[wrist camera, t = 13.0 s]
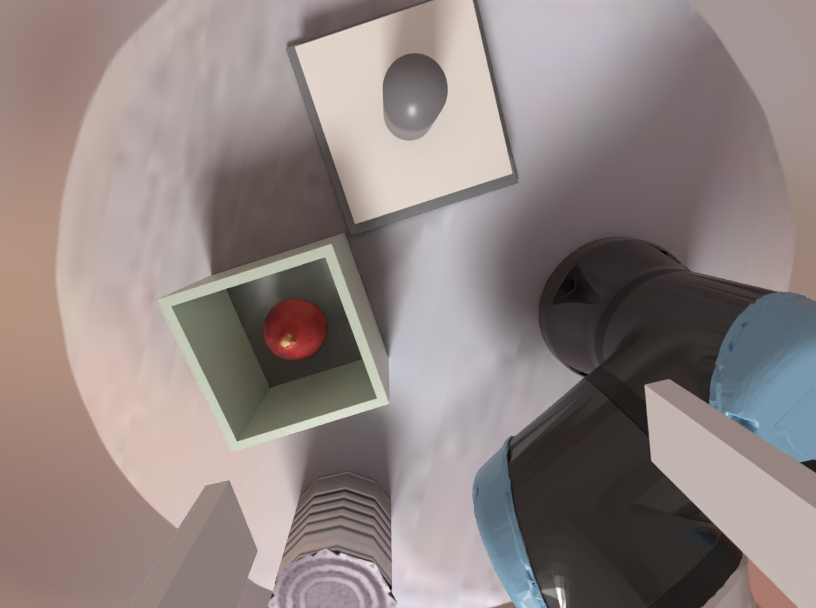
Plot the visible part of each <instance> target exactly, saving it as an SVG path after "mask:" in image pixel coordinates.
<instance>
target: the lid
mask: <svg viewBox="0 0 816 608" xmlns="http://www.w3.org/2000/svg"><path fill="white" fill-rule="evenodd" d="M295 49H296V52H297V55H298V58H299V61H300V64H301V67H302V70H303V73H304V76H305V79H306V82H307V85H308V87H309V90H310V93H311V96H312V99H313V102H314V105H315V108H316V111H317V114H318V117H319V120H320V123H321V126H322V129H323V132H324V134H325V137H326V140H327V143H328V146H329V149H330V152H331V155H332V158H333V161H334V164H335V167H336V170H337V173H338V176H339V179H340V181H341V184H342V187H343V190H344V193H345V196H346V199H347V202H348V205H349V208H350V211H351V214H352V217H353V220H354V223H355V224H357V223H360V222H364V221H367V220H370V219H373V218H376V217H379V216H382V215H385V214H388V213H392V212H395V211H398V210H401V209H404V208H407V207H410V206H413V205H416V204H420V203H423V202H426V201H429V200H432V199H435V198H438V197H441V196H444V195H448V194H451V193H454V192H457V191H460V190H463V189H466V188H469V187H472V186H476V185H479V184H482V183H485V182H488V181H491V180H494V179H497V178H500V177H504V176H507V175H510V174H513V173H512V169H511V165H510V160H509V156H508V152H507V147H506V143H505V138H504V134H503V130H502V125H501V121H500V117H499V112H498V108H497V104H496V99H495V95H494V91H493V86H492V82H491V78H490V73H489V69H488V65H487V60H486V56H485V52H484V47H483V43H482V39H481V34H480V30H479V26H478V21H477V17H476V12H475V8H474V4H473V0H433V1H430V2H427V3H424V4H421V5H418V6H415V7H412V8H409V9H406V10H403V11H400V12H397V13H394V14H391V15H388V16H385V17H382V18H379V19H376V20H373V21H370V22H367V23H364V24H361V25H358V26H355V27H352V28H349V29H346V30H343V31H340V32H337V33H334V34H331V35H328V36H325V37H322V38H319V39H316V40H314V41H311V42H308V43H305V44H302V45H299V46H296V47H295Z"/></svg>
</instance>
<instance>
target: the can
mask: <svg viewBox="0 0 816 608" xmlns="http://www.w3.org/2000/svg"><path fill="white" fill-rule="evenodd" d="M391 590H392V555H391V501H390V500H389V498H388V497H387V496H386V494H385V493H384V491H383V490H382V489H381V487H380V486H379V484H378V483H377V482H376V480H373V479H370V478H367V477H364V476H361V475H358V474H355V473H352V472H349V471H346V472H341V473H337V474H332V475H328V476H323V477H319V478H318V479H317V480H316V481H315V482H314V483H313V484H312V485H311V486H310V487H309V488H308V489H307V490H306V491H305V492H304V493H303V494H302V495H301V496H300V498H299V502H298V505H297V509H296V512H295V516H294V519H293V522H292V526H291V529H290V533H289V536H288V540H287V543H286V546H285V550H284V553H283V557H282V560H281V564H280V567H279V571H278V574H277V577H276V581H275V587H274V590H273V593H272V596H271V598H270V601H269V605H268V608H395V607H396V605H397V601H396V599H395V598H394V596H393V594H392V592H391Z"/></svg>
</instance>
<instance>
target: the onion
mask: <svg viewBox="0 0 816 608" xmlns="http://www.w3.org/2000/svg"><path fill="white" fill-rule="evenodd" d="M263 334H264V338H265V342H266V345H267V346H268V347H269V349H270V350H271V351H272V352H273V353H274V354H275V355H277V356H279V357H281V358H282V359H284V360H297V361H298V360H301V359H305V358H308V357H310V356H312V355H313V354H314V353H316V352H317V351H318V350H319V349H320V347H321V346H322V344H323V342H324V340H325V339H326V334H327V322H326V319H325V315H324V313H323V312H322V311H321V310H320V309H319V307H318V306H316V305H315V304H313V303H311V302H309V301H308V300H303V299H297V298H295V299H290V300H285V301H281V302H280V303H278V304H277V305H276V306H274V307H273V308H272V309H271V311H270V312H269V314H268V316H267V317H266V319H265V322H264V327H263Z"/></svg>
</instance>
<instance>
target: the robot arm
mask: <svg viewBox="0 0 816 608" xmlns="http://www.w3.org/2000/svg"><path fill="white" fill-rule="evenodd" d="M539 323H540V329H541V333H542V336H543V339H544V341H545V343H546V345H547V347H548V348H549V350H550V351H551V352H552V354H553V355H554V356H555V357H556V358H557V359H558V360H559V361H560V362H561V363H562V364H564V365H565V366H566V367H567V368H568V369H570V370H571V371H573V372H574V373H576V374H578V375H580V376H582V377H584V378H583V379H582V380H581V381H580V382H579V383H577V384H576V385H575V386H574V387H573V388H572V389H570V390H569V391H568V392H567V393H566V394H565V395H564V396H562V397H561V398H560V399H559V400H558V401H557V402H555V403H554V404H553V405H552V406H551V407H550V408H548V409H547V410H546V411H545V412H544V413H542V414H541V415H540V416H539V417H538V418H536V419H535V420H534V421H533V422H532V423H530V424H529V425H528V426H527V427H526V428H524V429H523V430H522V431H521V432H520V433H518V434H517V435H516V436H510V437H509V438H508V439H507V440H506V441H505V442H504V445H503V447H502V448H501V449H500V450H499V451H498V452H497V453H496V454H494V455H493V456H492V457H491V458H490V459H489V460H488V461H487V462H486V463H485V464H484V465H483V466H482V467H481V468H480V469H479V471H478V473H477V474H476V477H475V480H474V484H473V495H472V496H473V503H474V513H475V517H476V522H477V526H478V529H479V532H480V535H481V538H482V541H483V544H484V546H485V549H486V551H487V554H488V556H489V558H490V561H491V563H492V565H493V567H494V569H495V571H496V573H497V575H498V577H499V579H500V581H501V583H502V585H503V587H504V588H505V590H506V592H507V593H508V595H509V597H510V598H511V600H512V601H513V603H514V604H515V606H516V607H517V608H762V607H760V605H759V604H758V603H757V602H756V601H755V600H754V597H753V594H752V592H751V587H750V577H749V566H748V558H749V559H750V560H751V561H752V562H753V563H754V564H755V565H756V566H757V567H758V568H759V569H760V570H761V571H762V572H763V573H764V574H765V575H766V576H767V577H768V578H769V579H770V580H771V581H772V582H773V583H775V585H776V586H777V587H778V588H779V589H780V590H781V591H782V592H783V593H784V594H785V595H786V596H787V597H788V598H789V599H790V600H791V601H792V602H793V603H794V604H795V605H796V606H797V607H798V608H816V301H813V300H811V299H809V298H806V297H805V296H802V295H799V294H796V293H790V292H777V291H773V290H768V289H764V288H760V287H756V286H751V285H747V284H743V283H739V282H734V281H730V280H726V279H722V278H717V277H713V276H709V275H705V274H700V273H696V272H692V271H690V270H689V269H688V268H687V267H686V266H684V265H682V264H681V263H680V262H679V261H678V260H677V259H676V258H675V257H674V256H673V255H672V254H671V253H669V252H668V251H667V250H665V249H663V248H662V247H659V246H657V245H655V244H653V243H650V242H647V241H642V240H637V239H631V238H624V237H613V238H606V239H601V240H597V241H594V242H591V243H589V244H587V245H585V246H583V247H581V248H579V249H578V250H576V251H574V252H573V253H572V254H570V255H569V256H568V257H567V258H566V259H565V260H563V261H562V262H561V264H560V265H559V266H558V267H557V268H556V269H555V271H554V272H553V274H552V275H551V277H550V278H549V280H548V282H547V284H546V286H545V288H544V291H543V294H542V297H541V302H540V308H539ZM257 551H258V550H257V548H256V545H255V543H254V540H253V538H252V535H251V533H250V530H249V528H248V525H247V523H246V520H245V518H244V515H243V513H242V510H241V508H240V506H239V503H238V501H237V498H236V496H235V493H234V491H233V488H232V486H231V483H230V481H225V482H220V483H216V484H211V485H207V486H205V487H204V489H203V491H202V492H201V494H200V495H199V497H198V498H197V500H196V502H195V503H194V505H193V506H192V508H191V509H190V511H189V512H188V514H187V516H186V517H185V519H184V520H183V522H182V523H181V525H180V526H179V528H178V530H177V531H176V533H175V534H174V536H173V537H172V539H171V540H170V542H169V544H168V545H167V547H166V549H165V550H164V551H163V553H162V555H161V556H160V558H159V559H158V561H157V563H156V564H155V565H154V567H153V569H152V570H151V572H150V573H149V575H148V576H147V578H146V579H145V581H144V583H143V584H142V586H141V587H140V589H139V590H138V592H137V593H136V595H135V597H134V598H133V600H132V601H131V603H130V604H129V606H128V608H236V607H237V604H238V601H239V599H240V596H241V593H242V591H243V588H244V585H245V583H246V580H247V578H248V575H249V572H250V570H251V567H252V564H253V562H254V559H255V556H256V553H257Z"/></svg>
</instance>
